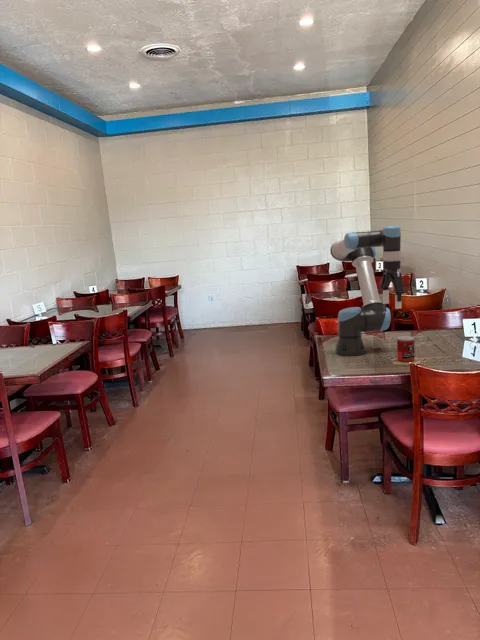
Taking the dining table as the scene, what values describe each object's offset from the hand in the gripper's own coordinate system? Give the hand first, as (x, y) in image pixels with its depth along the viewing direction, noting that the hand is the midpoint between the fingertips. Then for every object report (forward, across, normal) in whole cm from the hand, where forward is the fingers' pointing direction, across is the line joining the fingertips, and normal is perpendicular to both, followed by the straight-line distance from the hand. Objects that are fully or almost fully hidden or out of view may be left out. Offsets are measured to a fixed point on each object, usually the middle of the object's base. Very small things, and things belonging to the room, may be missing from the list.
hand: (391, 306), depth 222 cm
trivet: (+27, -3, -6) cm, 28 cm away
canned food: (+26, -3, -6) cm, 27 cm away
